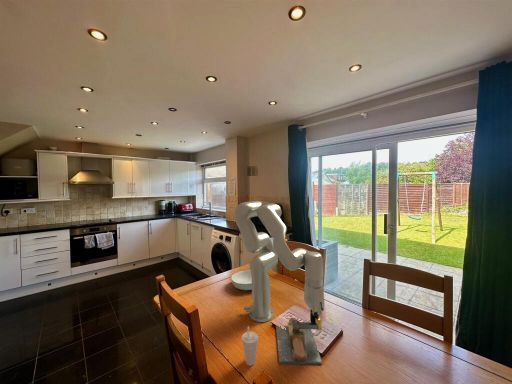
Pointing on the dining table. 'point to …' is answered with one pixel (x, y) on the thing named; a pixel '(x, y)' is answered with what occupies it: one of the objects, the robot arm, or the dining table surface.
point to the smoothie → (250, 346)
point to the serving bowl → (242, 280)
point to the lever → (307, 325)
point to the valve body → (296, 346)
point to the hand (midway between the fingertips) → (314, 322)
